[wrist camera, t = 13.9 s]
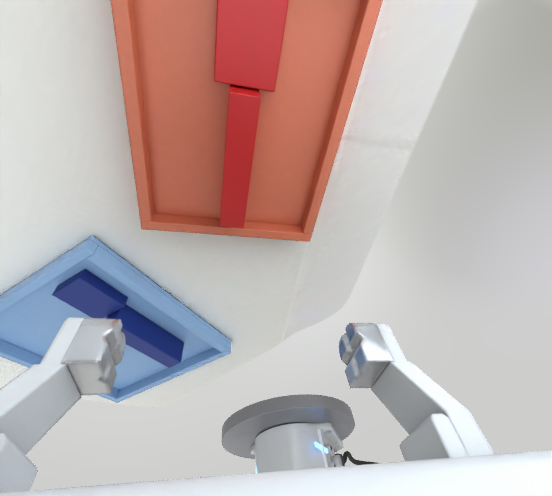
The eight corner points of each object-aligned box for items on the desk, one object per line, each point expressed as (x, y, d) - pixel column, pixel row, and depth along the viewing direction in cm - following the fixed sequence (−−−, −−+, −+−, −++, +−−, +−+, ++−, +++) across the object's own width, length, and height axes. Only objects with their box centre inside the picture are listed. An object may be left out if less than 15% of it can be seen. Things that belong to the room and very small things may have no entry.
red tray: (306, 230, 26) (309, 241, 25) (146, 217, 24) (141, 229, 22) (382, -35, 16) (395, -40, 14) (107, -111, 13) (93, -125, 12)
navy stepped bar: (57, 285, 27) (43, 307, 25) (85, 268, 26) (72, 289, 24) (166, 350, 35) (162, 371, 33) (190, 339, 34) (187, 359, 32)
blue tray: (231, 340, 36) (230, 353, 34) (120, 390, 40) (117, 402, 39) (92, 235, 24) (84, 247, 23) (-40, 321, 29) (-53, 335, 28)
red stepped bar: (219, -29, 15) (216, -35, 13) (287, -12, 15) (295, -15, 13) (209, 206, 23) (207, 225, 21) (254, 211, 24) (255, 229, 22)
